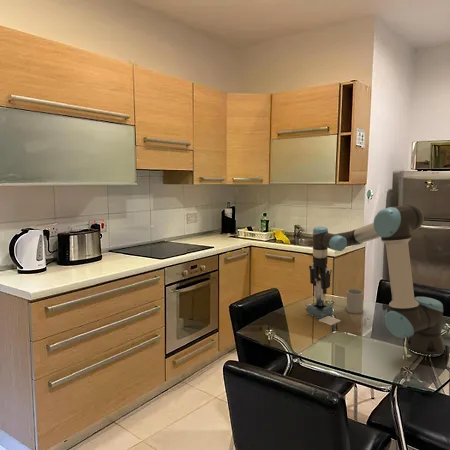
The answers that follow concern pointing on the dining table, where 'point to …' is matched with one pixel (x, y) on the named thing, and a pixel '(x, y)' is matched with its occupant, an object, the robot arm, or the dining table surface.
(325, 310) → the grey-blue open box
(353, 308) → the mug
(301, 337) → the dining table surface
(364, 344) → the dining table surface
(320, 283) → the key
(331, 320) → the mat
